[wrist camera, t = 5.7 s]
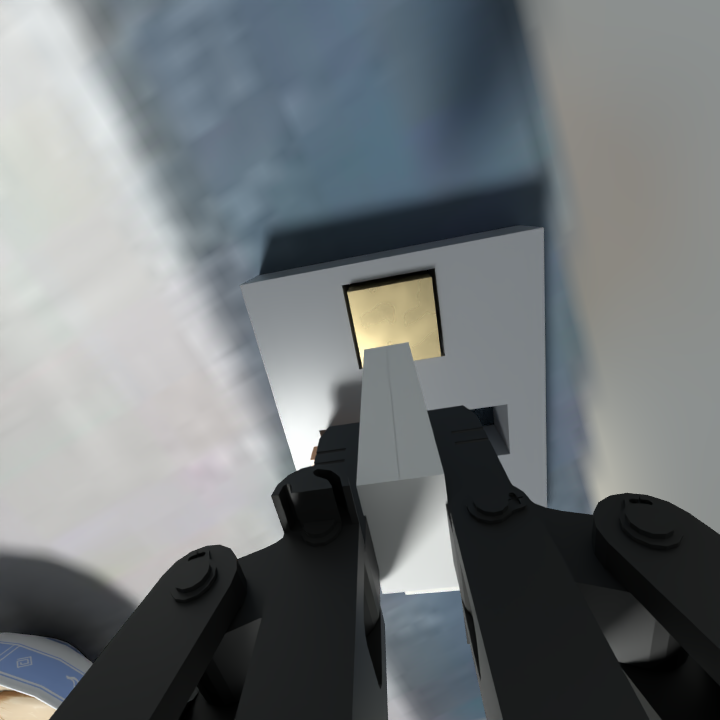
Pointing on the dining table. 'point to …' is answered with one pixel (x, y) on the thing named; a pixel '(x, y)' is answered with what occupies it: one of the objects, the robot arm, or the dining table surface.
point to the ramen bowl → (36, 675)
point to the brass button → (396, 313)
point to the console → (436, 375)
